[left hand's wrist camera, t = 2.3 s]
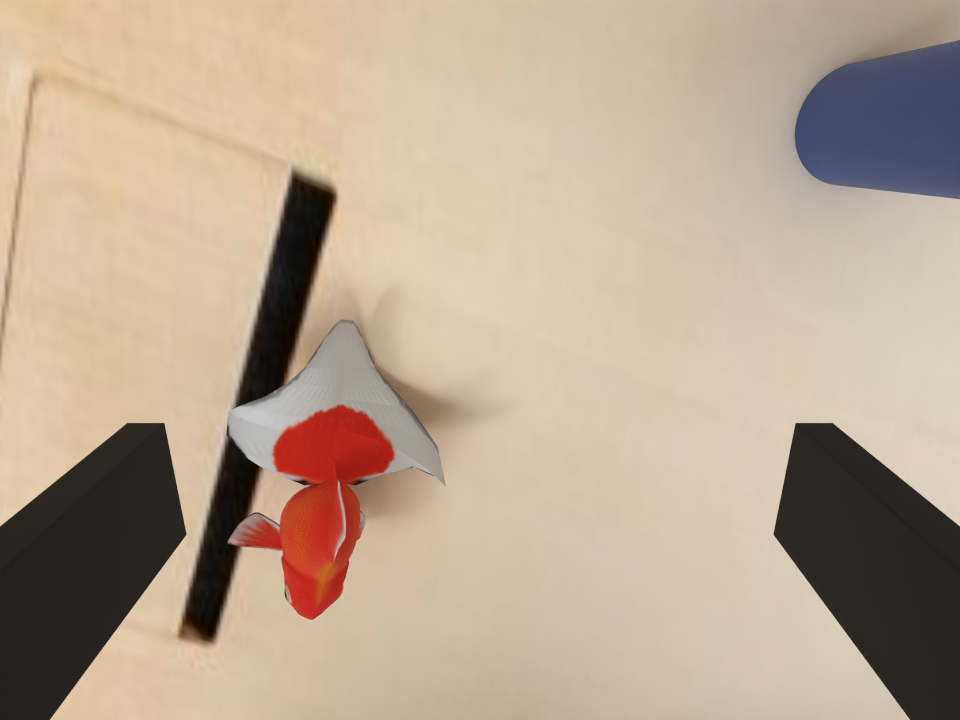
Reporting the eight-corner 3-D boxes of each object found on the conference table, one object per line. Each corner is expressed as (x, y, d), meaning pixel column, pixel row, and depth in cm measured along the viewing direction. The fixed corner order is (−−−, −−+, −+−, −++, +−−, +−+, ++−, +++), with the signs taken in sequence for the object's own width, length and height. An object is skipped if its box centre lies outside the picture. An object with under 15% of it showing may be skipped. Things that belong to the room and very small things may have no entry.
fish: (148, 552, 33) (151, 640, 24) (267, 292, 35) (309, 287, 26) (328, 591, 38) (383, 676, 29) (423, 363, 40) (501, 378, 31)
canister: (878, 35, 29) (1121, -32, 18) (931, 134, 30) (1185, 128, 20) (773, 116, 30) (941, 101, 19) (828, 208, 32) (1014, 242, 21)
